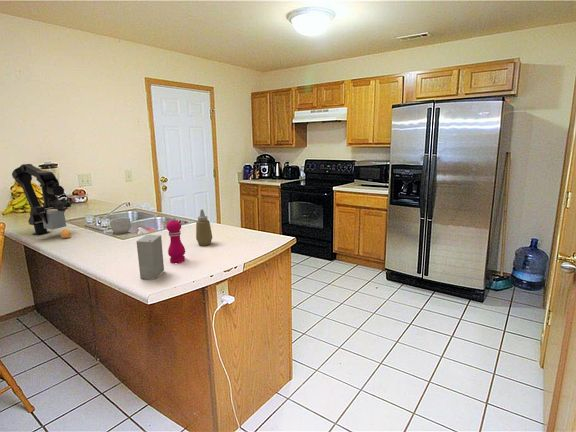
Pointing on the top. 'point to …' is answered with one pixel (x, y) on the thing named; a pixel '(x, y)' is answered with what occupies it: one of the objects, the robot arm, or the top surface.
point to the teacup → (120, 225)
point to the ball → (65, 233)
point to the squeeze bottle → (203, 230)
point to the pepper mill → (175, 242)
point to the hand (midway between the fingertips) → (54, 222)
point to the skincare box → (150, 256)
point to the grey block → (55, 220)
